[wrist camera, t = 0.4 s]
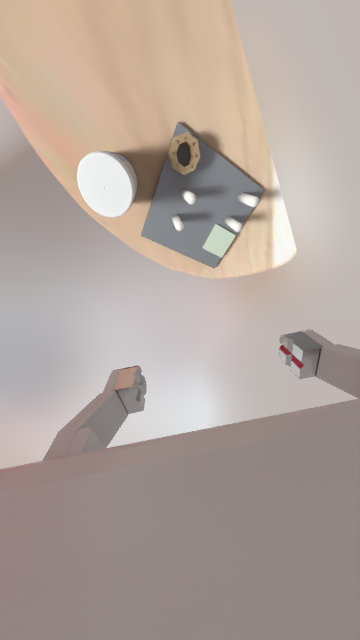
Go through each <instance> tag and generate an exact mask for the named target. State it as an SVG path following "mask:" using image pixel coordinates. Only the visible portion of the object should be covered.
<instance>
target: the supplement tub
mask: <svg viewBox="0 0 360 640" xmlns="http://www.w3.org/2000/svg"><path fill="white" fill-rule="evenodd" d="M77 180H78V186H79V189H80V192H81V194H82V196H83V198H84V199H85V201H86V202H87V204H88V205H89V206H90V207H91V208H92V209H93V210H95V211H96V212H97V213H99V214H101V215H103V216H107V217H118V216H121V215H123V214H124V213H125V212H127V211H128V209H129V208H130V207H131V205H132V203H133V200H134V197H135V194H136V191H137V178H136V174H135V172H134V169H133V167H132V166H131V164H130V163H129V162H128V161H127V160H126V159H125V158H124V157H123V156H121V155H119V154H116V153H112V152H107V151H94V152H91V153H89V154H88V155H86V156H85V157H84V158H83V159H82V160H81V162H80V164H79V167H78V172H77Z"/></svg>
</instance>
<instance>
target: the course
mask: <svg viewBox="0 0 360 640" xmlns="http://www.w3.org/2000/svg"><path fill="white" fill-rule="evenodd" d="M185 132H188V133H189V134H190V135H192V136H193V137H194V138H196V139H197V140H198V146H199V151H200V158H199V161H198V163H197V165H196V168H195V170H194V171H191V172H189V173H187V174H185V175H183V174H181V173H179V172H178V171H176V170H175V169H173V168H172V167H171V163H170V159H169V156H168V153H167V157H166V160H165V163H164V166H163V169H162V172H161V175H160V178H159V181H158V184H157V187H156V190H155V193H154V197H153V200H152V203H151V206H150V209H149V212H148V215H147V218H146V221H145V224H144V227H143V230H142V233H141V236H143V237H146V238H148V239H150V240H152V241H154V242H157V243H159V244H161V245H163V246H166V247H168V248H170V249H172V250H174V251H177V252H179V253H181V254H183V255H186V256H188V257H190V258H192V259H195V260H197V261H199V262H201V263H203V264H206V265H208V266H210V267H212V268H215V267H216V265H217V264H218V262H219V261H220V259H221V257H219V256H217V255H215V254H213V253H211V252H209V251H207V250H205V249H203V248H202V247H203V246H204V244H205V242H206V240H207V238H208V237H209V235H210V233H211V231H212V229H213V228H214V226H215V224H217V225H219V226H221V227H223V228H224V229H226V230H228V231H229V232H231V233H233V234H235V235H236V234H237V233H238V232H240V231H241V230H242V228H243V226H242V225H243V223H244V222H245V220H246V219H247V217H248V216H249V214H250V212H251V211H252V209H253V208H254V207H256V206H257V205H258V204H259V198H260V197H261V195H262V194H263V192H264V191H265V190H263V189H262V188H261V187H260V186H258V185H257V184H256V183H255V182H253V181H252V180H251V179H249V178H248V177H247V176H246V175H244V174H243V173H242V172H241V171H239V170H238V169H237V168H236V167H234V166H233V165H232V164H231V163H229V162H228V161H227V160H226V159H224V158H223V157H222V156H221V155H219V154H218V153H217V152H216V151H214V150H213V149H212V148H211V147H209V146H208V145H207V144H205V143H204V142H203V141H202V140H200V139H199V138H198V137H197V136H195V135H194V134H193V133H192V132H190V131H189V130H188V129H187V128H185V127H184V126H183V125H182V124H180V123H179V122H178V123H177V126H176V129H175V132H174V135H173V138H172V140H173V139H174V138H175V137H177V136H179V135H181V134H183V133H185ZM171 143H172V141H171ZM170 146H171V144H170ZM169 149H170V147H169ZM168 152H169V150H168ZM176 155H177V159H178V163H179V164H181V165H182V166H184V165H186V164H188V162H189V159H190V156H191V155H190V150H189V147H188V146H187V145H185V144H184V143H181V144H179V147H178V150H177V152H176Z"/></svg>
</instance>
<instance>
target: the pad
mask: <svg viewBox="0 0 360 640" xmlns="http://www.w3.org/2000/svg"><path fill="white" fill-rule="evenodd" d="M235 236H236V235H235V234H233V233H231V232H229V231H228V230H226V229H224V228H223V227H221V226H219V225H217V224H215V226H214V228H213V229H212V231H211V233H210V235H209V237H208V238H207V240H206V242H205V244H204V246H203V247H202V248H203V249H205V250H207V251H209V252H211V253H213V254H215V255H217V256H219V257H221V258H222V257H223V255H224V253H225V252H226V250H227V249H228V247H229V246H230V244H231V243H232V241H233V239H234V238H235Z"/></svg>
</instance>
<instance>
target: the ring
mask: <svg viewBox="0 0 360 640" xmlns="http://www.w3.org/2000/svg"><path fill="white" fill-rule="evenodd" d="M181 143H184V144H185V145H187V146H188V147H189V150H190V155H191V156H190V159H189V162H188V164H186V165H184V166H182V165H181V164H179V163H178V159H177V155H176V152H177V150H178V147H179V144H181ZM168 156H169V159H170V163H171V167H172V168H173V169H175V170H176V171H178V172H179V173H181V174H183V175H185V174H187V173H189V172H191V171H194V170H195V168H196V165H197V163H198V161H199V158H200V151H199V146H198V140H197V139H196V138H194V137H193V136H192V135H190V134H189V133H188V132H185V133H183V134H181V135H179V136H177V137H175V138H174V139H173V140H172V143H171V146H170V149H169V152H168Z"/></svg>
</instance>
